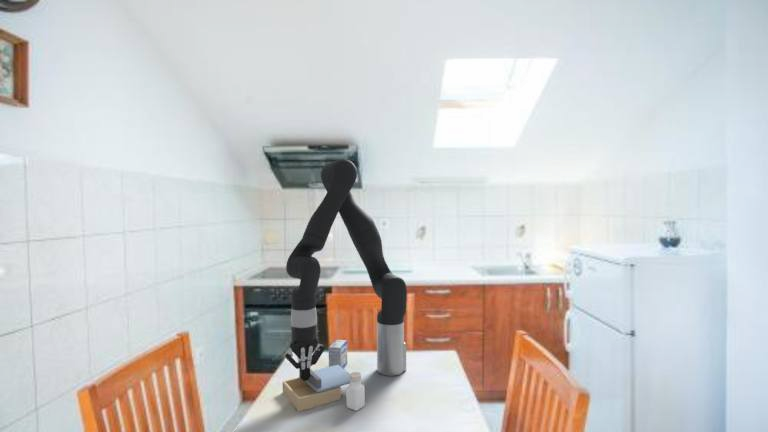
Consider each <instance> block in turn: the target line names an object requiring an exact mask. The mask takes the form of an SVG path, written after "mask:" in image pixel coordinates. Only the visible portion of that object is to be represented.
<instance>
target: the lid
mask: <svg viewBox="0 0 768 432" xmlns="http://www.w3.org/2000/svg"><path fill="white" fill-rule="evenodd" d="M350 374H351V372H350V373H349V371H347V370H345V368H344V369H343V368H342V367H340V366H339V365H335V366H331V367H329V366H328V367H323V368H320V369H314V370H312V369H311V368H310V378H309V380H307V381H306V382H307V383H308V384H309V385H310V386H311V387H312V388H313V389H314V390H315V391H316V392H317V393H318V392H322V391H325V390H329V389H332V388H336V387H342V386H348V385H349V384H350Z"/></svg>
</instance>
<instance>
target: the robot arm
mask: <svg viewBox="0 0 768 432" xmlns="http://www.w3.org/2000/svg"><path fill="white" fill-rule="evenodd" d="M357 177H358V169H357V167H356V165H355V163H353V162H352V161H351V160H349V159H346V158H344V159H339V160H338V159H337V160H335V161H333V162H329V163H327V164H325V165H324V166H323V167H322V168H321V171H320V180H321V183H322V185H323V187H324V188H325V190H326V194H325V195H324V198H323V199H322V201H321V202H320V204H319V205H318V206H317V208H315V211H314V212H313V214H312V215H311V217H310V219H309V221H308V222H307V225H306V228H305V230H304V232H303V234H302V238H301V239H300V240H299V241H298V243H297V245H296V246H295V247H294V248H293V250H292V252H290V255H289V256H288V258H287V260H286V266H285V267H286V269H285V270H286V273H287V274H288V276H289V277H291V278H293V279H298V280H300V282H299V286H297V287H294V288H293V289H292V290H291V296H290V297H291V312H290V337H291V338H290V341H291V342H290V345H289V348H288V349H287V351H284V352H283V353H282V355H283V357H284V358H285V359H286V360H287V361H288V362H289V363H290V364H291V365H292V366H293V367H294V368H295V369H297V370H298V369H299V376H298V377H300V378H301V379H302V380H303V381H307V380H309V378H310V369H311V367H312V366H313V365H316V364H317V363H318V361H319V360H320V358H321V357H322V354H323V353H324V351H325V349H326V347H325V346H324V345H323V344H322V343H319V340H318V338H317V337H318V314H317V307H316V306H317V300H316V299H317V298H316V295H317V294H316V293H317V289H318V285H319V281H320V277H321V270H322V269H321V264H320V261H319V260H318V259H317V258H316V257H315V256H313V255H314V254H315V253H317V252H321V251H322V250H323V249H324V247H325V245H326V243H327V241H328V237H329V234H330V232H331V229H332V227H333V224H334V222H335V221H336V218H337V216H338V214H339V215H340V217H341V220H342V221H343V223H344V226H345V227H346V230H347V233H348V235H349V237H350V239H351V242H352V243H353V245H354V248H355V250H356V251H357V254H358V255H359V257H360V260H361V261H362V263H363V265H364V267H365V269H366V271H367V273H368V278H369V279H370V283H371V285H372V288H373V291H374V293H375V295H376V296H377V297H378V298H380V299H381V306H380V307H381V309H380V310H379V311H378V312H377V315H376V371H377V372H378V374H380V375H384V376H389V377H393V376H398V375H401V374H403V373H404V372H405V371H407V343H406V342H405V328H404V327H405V315H406V312H407V303H408V302H407V298H408V296H407V295H408V291H407V290H408V289H407V284H406V282H405V280H404V279H403V278H402V277H400V276H398V275H395V274H393V272H392V271H391V269H390V267H389V266H388V264H387V262H386V260H385V256H384V253H383V252H384V251H383V244H382V237H381V235H380V233H379V229H378V228H377V225H376V223H375V221H374V219H373V218H372V216H371V215H370V214H369V213H368V212H367V211H366V210H365V208H363V207H362V205H360V204H359V203H358V201H357V200H356V199H355V197H354V195H353V194H352V192H351V190H352V188H353V187H354V185H355V183H356V181H357ZM294 354H295V356H296V358H297V361H296V360H295V359H294V358H293V356H294Z"/></svg>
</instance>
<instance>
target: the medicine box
mask: <svg viewBox="0 0 768 432" xmlns="http://www.w3.org/2000/svg"><path fill="white" fill-rule="evenodd" d="M335 365H339V366H340V367H342V368H343V369H344V370H345V367H346V366H347V365H348V340H346V339H344V340H343V339H335V340H334V342H332V344H331V345H330V346H329V347H328V367H331V366H335Z"/></svg>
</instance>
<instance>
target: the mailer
mask: <svg viewBox="0 0 768 432" xmlns="http://www.w3.org/2000/svg"><path fill="white" fill-rule="evenodd" d="M282 394H283V395H284V396H285V397H286V398H287V400H288V401H289V402H290V403H291V405H292V406H293V407H294V408H295V409H296V411H298V412H302V411H305V410H309V409H312V408H317V407H319V406H322V405H326V404H328V403H333V402H336V401H338V400H341V399H342V386H340V387H336V388H332V389H329V390H325V391H322V392H318V393H317V392H316V391H315V390H314V389H313V388H312V387H311V386H310V385H309V384H308V383H307V382H306V381H303V380H302V379H301V378H300V376H298V377H294V378H290V379H287V380H283V381H282Z"/></svg>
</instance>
